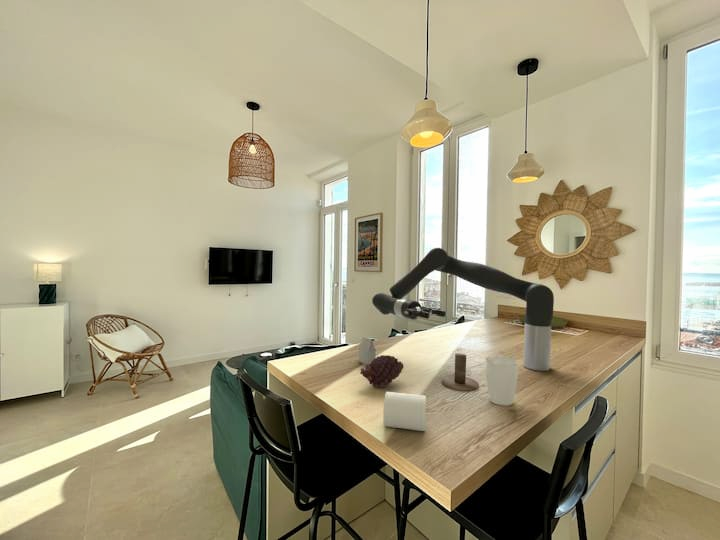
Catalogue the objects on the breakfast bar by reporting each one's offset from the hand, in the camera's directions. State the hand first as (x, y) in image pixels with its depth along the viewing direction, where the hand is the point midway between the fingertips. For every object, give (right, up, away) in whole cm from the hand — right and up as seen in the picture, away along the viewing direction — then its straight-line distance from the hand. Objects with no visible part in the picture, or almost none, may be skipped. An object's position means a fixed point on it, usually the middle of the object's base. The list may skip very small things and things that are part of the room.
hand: (436, 314), depth 114 cm
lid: (+6, -22, -9) cm, 24 cm away
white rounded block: (-17, -23, -35) cm, 45 cm away
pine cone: (-20, -22, -11) cm, 32 cm away
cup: (+14, -23, -21) cm, 34 cm away
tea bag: (-25, -21, +12) cm, 35 cm away
